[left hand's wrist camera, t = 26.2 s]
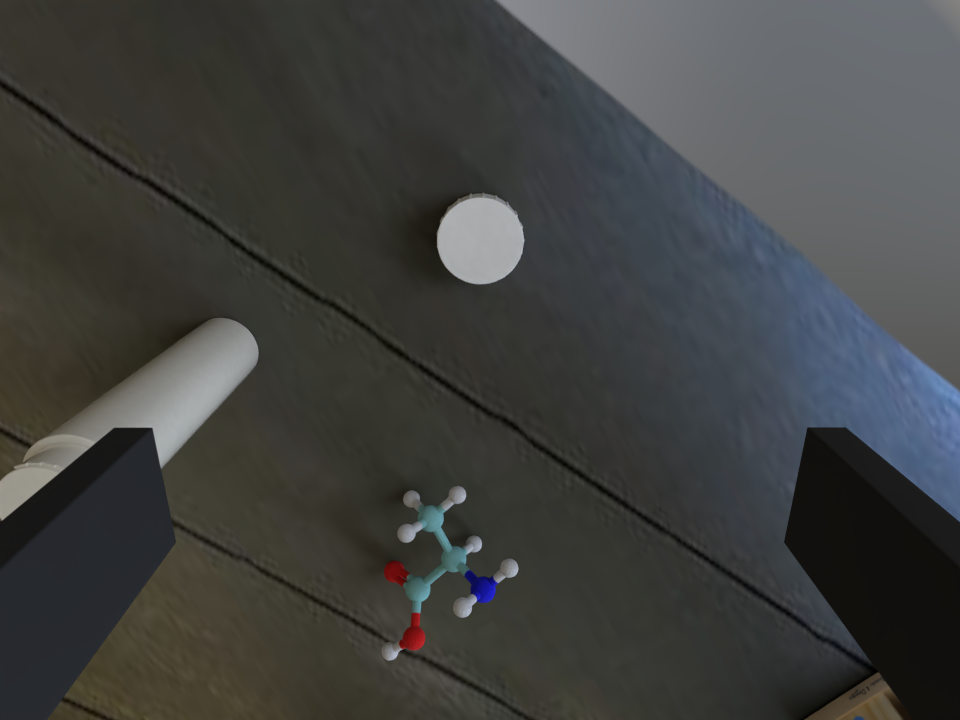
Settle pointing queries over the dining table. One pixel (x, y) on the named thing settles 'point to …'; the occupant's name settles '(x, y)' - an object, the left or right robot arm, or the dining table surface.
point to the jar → (145, 405)
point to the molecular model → (439, 569)
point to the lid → (480, 238)
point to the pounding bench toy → (865, 703)
